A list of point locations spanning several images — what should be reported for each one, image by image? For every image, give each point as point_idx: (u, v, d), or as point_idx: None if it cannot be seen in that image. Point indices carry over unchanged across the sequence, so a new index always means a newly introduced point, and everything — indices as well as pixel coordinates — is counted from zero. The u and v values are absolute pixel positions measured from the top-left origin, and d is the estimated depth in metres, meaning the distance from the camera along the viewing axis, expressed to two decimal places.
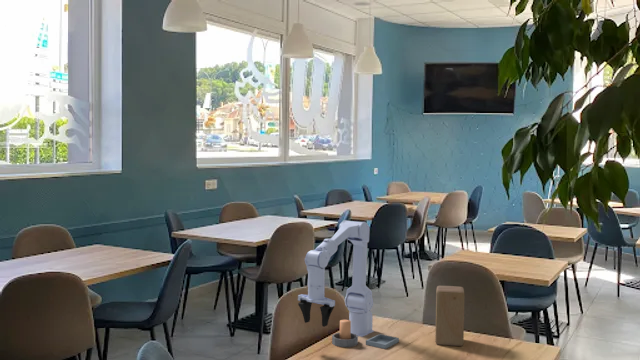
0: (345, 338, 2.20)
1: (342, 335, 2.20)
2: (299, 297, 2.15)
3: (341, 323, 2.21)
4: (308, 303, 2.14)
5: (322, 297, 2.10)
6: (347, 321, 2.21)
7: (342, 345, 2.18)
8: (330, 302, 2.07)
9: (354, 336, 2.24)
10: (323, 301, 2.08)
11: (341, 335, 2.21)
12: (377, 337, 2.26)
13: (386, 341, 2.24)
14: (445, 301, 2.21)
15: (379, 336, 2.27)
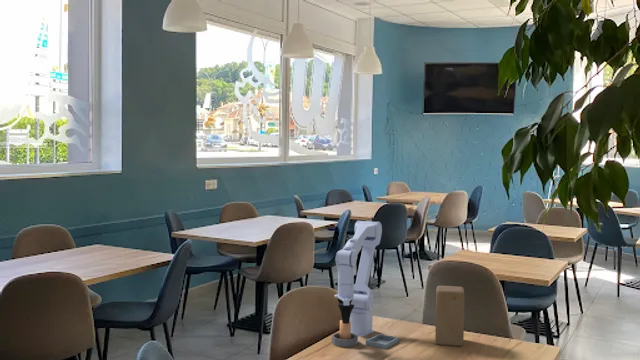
0: (345, 338, 2.20)
1: (342, 335, 2.20)
2: None
3: (341, 323, 2.21)
4: None
5: (345, 295, 2.19)
6: None
7: (342, 345, 2.18)
8: (343, 300, 2.15)
9: (354, 336, 2.24)
10: (341, 298, 2.17)
11: (341, 335, 2.21)
12: (377, 337, 2.26)
13: (386, 341, 2.24)
14: (445, 301, 2.21)
15: (379, 336, 2.27)
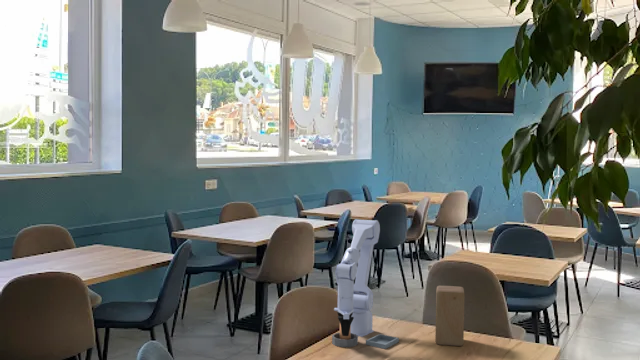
0: (345, 338, 2.20)
1: (342, 335, 2.20)
2: None
3: None
4: None
5: (345, 309, 2.19)
6: None
7: (342, 345, 2.18)
8: (343, 314, 2.15)
9: (354, 336, 2.24)
10: (341, 312, 2.17)
11: (341, 335, 2.21)
12: (377, 337, 2.26)
13: (386, 341, 2.24)
14: (445, 301, 2.21)
15: (379, 336, 2.27)
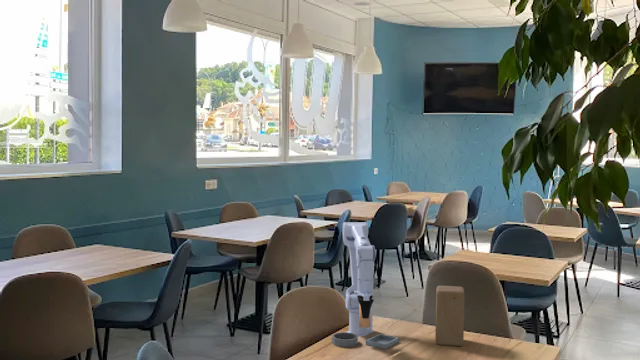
0: (365, 321, 2.19)
1: (361, 317, 2.19)
2: None
3: None
4: None
5: (365, 291, 2.18)
6: None
7: (342, 345, 2.18)
8: (363, 296, 2.14)
9: (354, 336, 2.24)
10: (361, 294, 2.17)
11: (361, 318, 2.19)
12: (377, 337, 2.26)
13: (386, 341, 2.24)
14: (445, 301, 2.21)
15: (379, 336, 2.27)
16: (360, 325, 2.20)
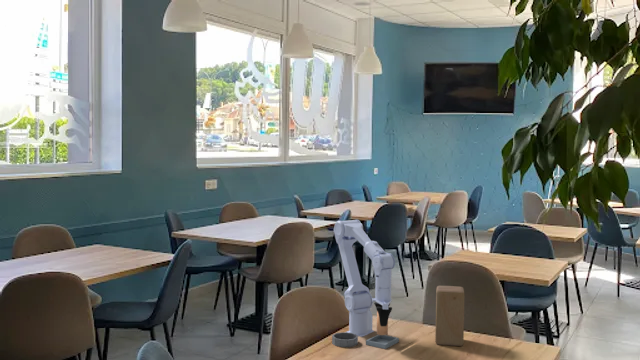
0: (383, 329, 2.20)
1: (379, 325, 2.20)
2: None
3: None
4: None
5: (383, 299, 2.19)
6: None
7: (342, 345, 2.18)
8: (382, 304, 2.15)
9: (354, 336, 2.24)
10: (379, 302, 2.17)
11: (379, 326, 2.21)
12: (377, 337, 2.26)
13: (386, 341, 2.24)
14: (445, 301, 2.21)
15: (379, 336, 2.27)
16: (378, 332, 2.21)
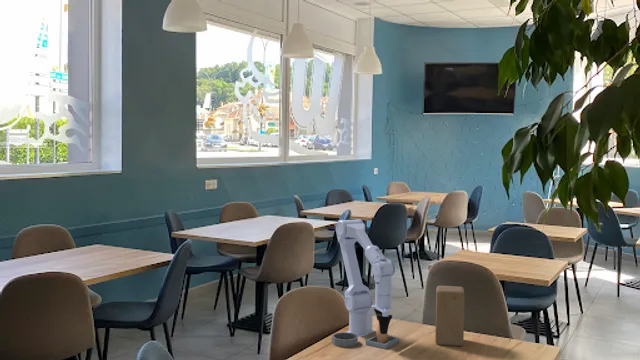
0: (382, 338, 2.20)
1: (379, 334, 2.21)
2: None
3: (378, 323, 2.21)
4: None
5: (383, 306, 2.19)
6: None
7: (342, 345, 2.18)
8: (382, 311, 2.15)
9: (354, 336, 2.24)
10: (379, 309, 2.17)
11: (378, 335, 2.21)
12: None
13: None
14: (445, 301, 2.21)
15: None
16: (378, 342, 2.21)
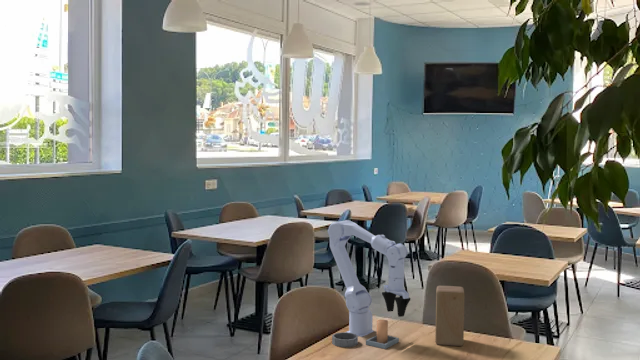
0: (382, 338, 2.20)
1: (379, 335, 2.21)
2: (384, 287, 2.31)
3: (378, 323, 2.21)
4: (392, 294, 2.29)
5: (399, 289, 2.22)
6: (384, 321, 2.22)
7: (342, 345, 2.18)
8: (403, 294, 2.19)
9: (354, 336, 2.24)
10: (398, 292, 2.20)
11: (378, 335, 2.21)
12: None
13: None
14: (445, 301, 2.21)
15: None
16: (378, 342, 2.21)
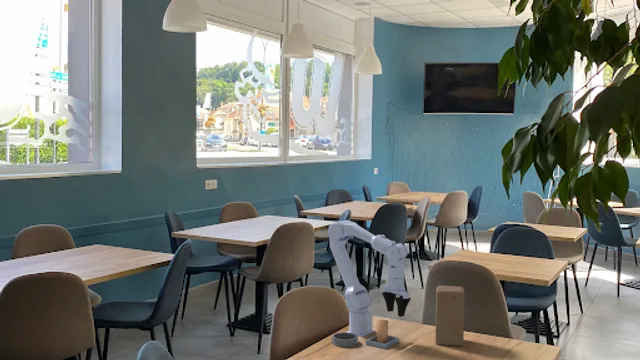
0: (383, 338, 2.20)
1: (379, 335, 2.21)
2: (384, 287, 2.31)
3: (379, 323, 2.21)
4: (392, 294, 2.29)
5: (399, 289, 2.22)
6: (385, 321, 2.21)
7: (342, 345, 2.18)
8: (403, 294, 2.19)
9: (354, 336, 2.24)
10: (398, 292, 2.21)
11: (378, 335, 2.21)
12: None
13: None
14: (445, 301, 2.21)
15: None
16: (378, 342, 2.21)
